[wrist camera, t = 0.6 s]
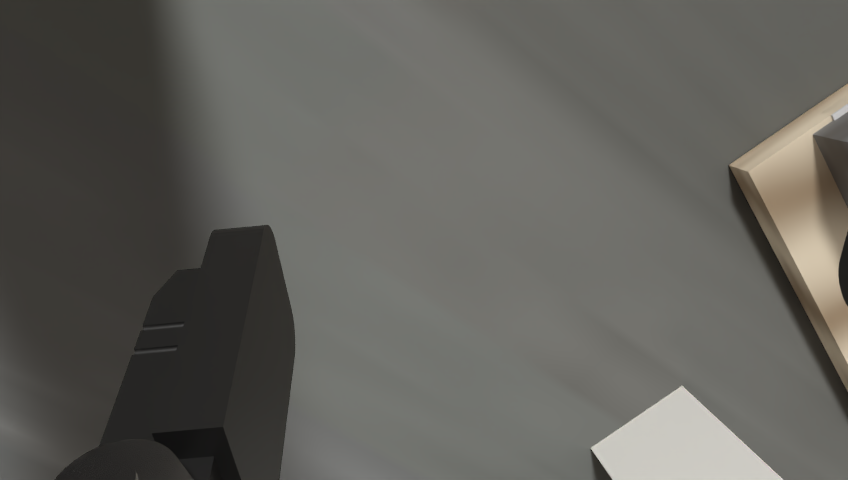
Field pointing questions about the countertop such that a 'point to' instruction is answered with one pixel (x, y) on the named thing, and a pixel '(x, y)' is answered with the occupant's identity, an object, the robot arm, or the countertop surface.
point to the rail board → (807, 212)
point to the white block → (679, 446)
